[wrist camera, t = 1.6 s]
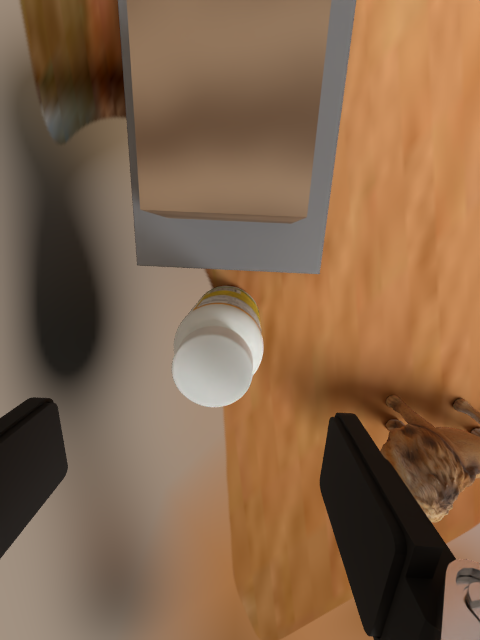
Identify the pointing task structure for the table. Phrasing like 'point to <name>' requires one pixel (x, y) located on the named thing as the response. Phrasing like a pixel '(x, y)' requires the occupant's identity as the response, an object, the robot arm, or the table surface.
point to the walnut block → (227, 106)
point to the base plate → (237, 236)
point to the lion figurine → (433, 457)
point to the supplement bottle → (218, 347)
